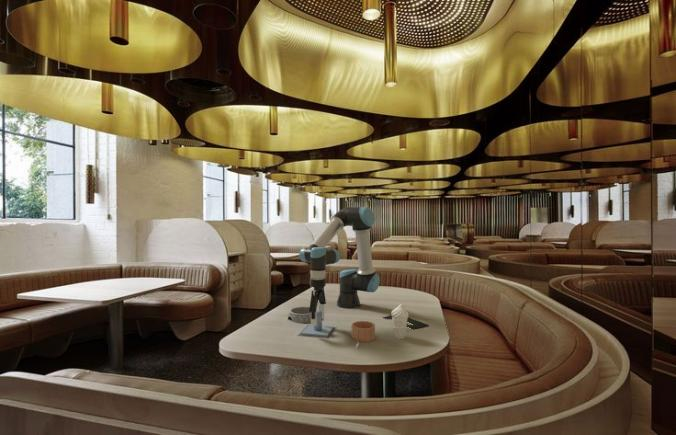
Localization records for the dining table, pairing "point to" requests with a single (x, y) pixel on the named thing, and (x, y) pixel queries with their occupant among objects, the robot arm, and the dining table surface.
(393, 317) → the soft serve ice cream cone
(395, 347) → the dining table surface
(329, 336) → the mat
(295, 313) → the dog bowl
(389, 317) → the black flat irregular plate
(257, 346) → the dining table surface
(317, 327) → the lid
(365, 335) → the bowl
